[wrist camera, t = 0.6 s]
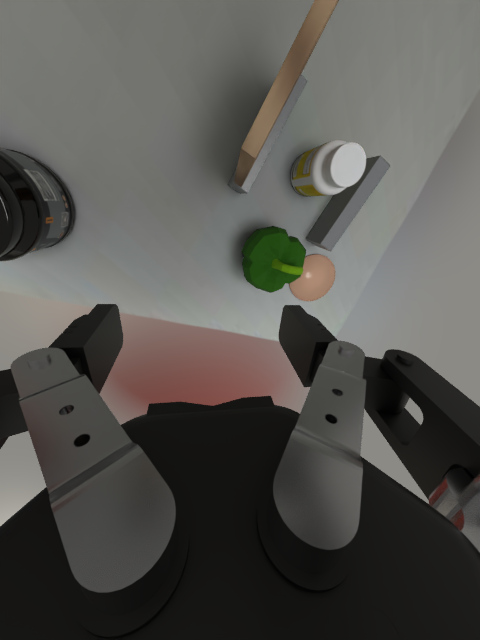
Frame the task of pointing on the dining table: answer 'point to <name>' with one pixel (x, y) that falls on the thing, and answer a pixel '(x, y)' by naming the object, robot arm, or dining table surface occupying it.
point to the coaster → (314, 278)
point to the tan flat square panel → (283, 85)
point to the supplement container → (30, 206)
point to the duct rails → (342, 203)
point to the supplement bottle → (328, 168)
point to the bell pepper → (272, 258)
